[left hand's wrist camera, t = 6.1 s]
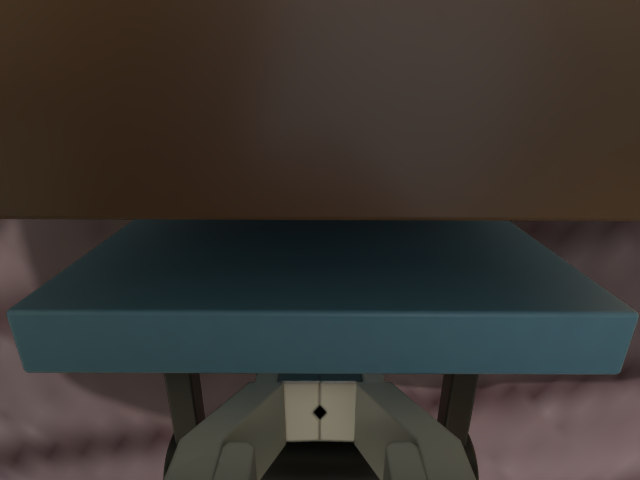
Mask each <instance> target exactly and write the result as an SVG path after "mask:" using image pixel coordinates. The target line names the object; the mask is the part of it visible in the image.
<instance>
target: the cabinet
mask: <svg viewBox="0 0 640 480" xmlns="http://www.w3.org/2000/svg"><path fill="white" fill-rule="evenodd" d="M0 219H163V220H419V221H640V0H0Z"/></svg>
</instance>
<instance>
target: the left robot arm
mask: <svg viewBox="0 0 640 480" xmlns="http://www.w3.org/2000/svg"><path fill="white" fill-rule="evenodd" d="M308 441H331V442H354V444H355V446H356V447H357V449H358V450H359V451H360V453H361V454H362V455H363V457H364V458H365V460H366V461H367V462H368V464H369V465H370V466H371V468H372V469H373V471H374V472H375V473H376V475H377V476H378V478H379V479H380V480H476V478H475V475H474V473H473V470H472V468H471V465H470V463H469V460H468V458H467V455H466V453H465V450H464V448H463V445H462V443H461V440H460V439H458V438H457V437H456V436H455V435H454V434H452V433H451V432H450V431H449V430H448V429H446V428H445V427H444V426H443V425H442V424H440V423H439V422H438V421H437V420H435V419H434V418H433V417H432V416H431V415H429V414H428V413H427V412H426V411H425V410H423V409H422V408H421V407H420V406H419V405H417V404H416V403H415V402H414V401H413V400H411V399H410V398H409V397H408V396H407V395H405V394H404V393H403V392H402V391H401V390H399V389H398V388H397V387H396V386H395V385H393V384H392V383H391V382H385V379H384V375H383V374H298V373H257V375H256V379H255V382H249V383H248V384H247V385H245V386H244V387H243V388H242V389H241V390H239V391H238V392H237V393H236V394H235V395H233V396H232V397H231V398H230V399H228V400H227V401H226V402H225V403H224V404H222V405H221V406H220V407H219V408H218V409H216V410H215V411H214V412H213V413H212V414H210V415H209V416H208V417H207V418H206V419H204V420H203V421H202V422H201V423H199V424H198V425H197V426H196V427H195V428H193V429H192V430H191V431H190V432H189V433H187V434H186V435H185V436H184V437H183V438H181V439H180V441H179V443H178V446H177V448H176V451H175V453H174V455H173V458H172V460H171V463H170V465H169V468H168V470H167V473H166V475H165V478H164V480H260V479H261V478H262V476H263V475H264V474H265V472H266V471H267V470H268V468H269V467H270V465H271V464H272V463H273V461H274V460H275V459H276V457H277V456H278V454H279V453H280V452H281V450H282V449H283V448H284V446H285V445H286V442H308Z"/></svg>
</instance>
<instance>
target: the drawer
mask: <svg viewBox="0 0 640 480" xmlns="http://www.w3.org/2000/svg"><path fill="white" fill-rule="evenodd" d="M6 315H7V319H8V322H9V325H10V328H11V331H12V334H13V337H14V340H15V343H16V347H17V350H18V353H19V356H20V359H21V362H22V365H23V368H24V370H25V371H26V372H28V373H164V376H165V382H166V388H167V394H168V400H169V406H170V412H171V418H172V424H173V430H174V433H173V436H172V438H171V441H170V443H169V447H168V450H167V454H166V459H165V465H164V475H163V480H164V478H165V475H166V473H167V470H168V468H169V465H170V463H171V460H172V458H173V455H174V453H175V451H176V448H177V446H178V443H179V441H180V439H181V438H183V437H184V436H185V435H186V434H187V433H189V432H190V431H191V430H192V429H193V428H195V427H196V426H197V425H198V424H199V423H201V422H202V421H203V420H204V419H205V415H204V407H203V399H202V391H201V384H200V376H199V373H298V374H444V377H443V384H442V391H441V398H440V405H439V412H438V419H437V421H438V422H439V423H440V424H442V425H443V426H444V427H445V428H446V429H448V430H449V431H450V432H451V433H452V434H454V435H455V436H456V437H457V438H458V439H460V440H461V443H462V445H463V448H464V450H465V453H466V455H467V458H468V460H469V463H470V465H471V468H472V470H473V473H474V475H475V478H476V480H479V476H478V466H477V460H476V455H475V451H474V447H473V444H472V441H471V439H470V436H469V434H468V431H469V426H470V420H471V415H472V409H473V404H474V398H475V393H476V387H477V382H478V376H479V374H605V375H616V374H619V373H620V372H621V369H622V366H623V363H624V360H625V357H626V354H627V351H628V348H629V345H630V342H631V339H632V337H633V334H634V331H635V328H636V325H637V322H638V319H639V314H638V312H637V311H635V310H634V309H632V308H631V307H630V306H628V305H627V304H625V303H624V302H623V301H621V300H620V299H618V298H617V297H615V296H614V295H613V294H611V293H610V292H608V291H607V290H606V289H604V288H603V287H601V286H600V285H599V284H597V283H596V282H594V281H593V280H592V279H590V278H589V277H587V276H586V275H584V274H583V273H582V272H580V271H579V270H577V269H576V268H575V267H573V266H572V265H570V264H569V263H568V262H566V261H565V260H563V259H562V258H561V257H559V256H558V255H556V254H555V253H554V252H552V251H551V250H549V249H548V248H546V247H545V246H544V245H542V244H541V243H539V242H538V241H537V240H535V239H534V238H532V237H531V236H530V235H528V234H527V233H525V232H524V231H523V230H521V229H520V228H518V227H517V226H515V225H514V224H513V223H511V222H510V221H419V220H163V219H134V220H133V221H131V222H130V223H129V224H127V225H126V226H124V227H123V228H122V229H120V230H119V231H117V232H116V233H115V234H113V235H112V236H111V237H109V238H108V239H106V240H105V241H104V242H102V243H101V244H99V245H98V246H97V247H95V248H94V249H92V250H91V251H90V252H88V253H87V254H85V255H84V256H83V257H81V258H80V259H78V260H77V261H76V262H74V263H73V264H71V265H70V266H69V267H67V268H66V269H64V270H63V271H62V272H60V273H59V274H57V275H56V276H55V277H53V278H52V279H50V280H49V281H48V282H46V283H45V284H43V285H42V286H41V287H39V288H38V289H36V290H35V291H34V292H32V293H31V294H29V295H28V296H27V297H25V298H24V299H22V300H21V301H20V302H18V303H17V304H15V305H14V306H13V307H11V308H10V309H8V311H7V314H6ZM260 480H380V479H379V478H378V476H377V475H376V473H375V472H374V471H373V469H372V468H371V466H370V465H369V464H368V462H367V461H366V460H365V458H364V457H363V455H362V454H361V453H360V451H359V450H358V449H357V447H356V446H355V444H354V442H331V441H308V442H286V445H285V446H284V448H283V449H282V450H281V452H280V453H279V454H278V456H277V457H276V459H275V460H274V461H273V463H272V464H271V465H270V467H269V468H268V470H267V471H266V472H265V474H264V475H263V476H262V478H261V479H260Z"/></svg>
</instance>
